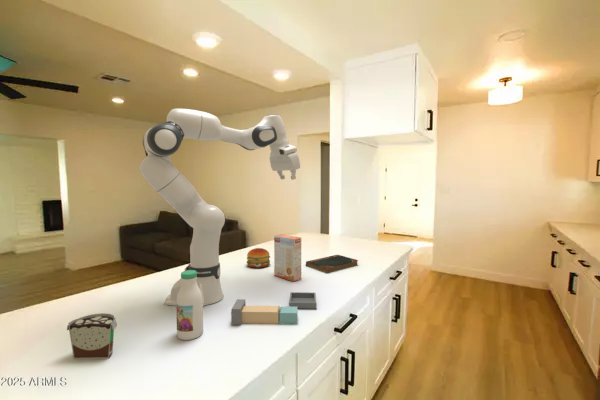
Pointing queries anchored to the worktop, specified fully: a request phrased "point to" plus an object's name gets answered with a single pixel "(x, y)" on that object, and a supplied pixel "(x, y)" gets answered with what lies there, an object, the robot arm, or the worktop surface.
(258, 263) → the burger
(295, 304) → the tray
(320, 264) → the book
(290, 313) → the stub
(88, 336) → the food container
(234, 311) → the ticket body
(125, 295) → the worktop surface
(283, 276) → the cracker box
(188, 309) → the milk bottle
